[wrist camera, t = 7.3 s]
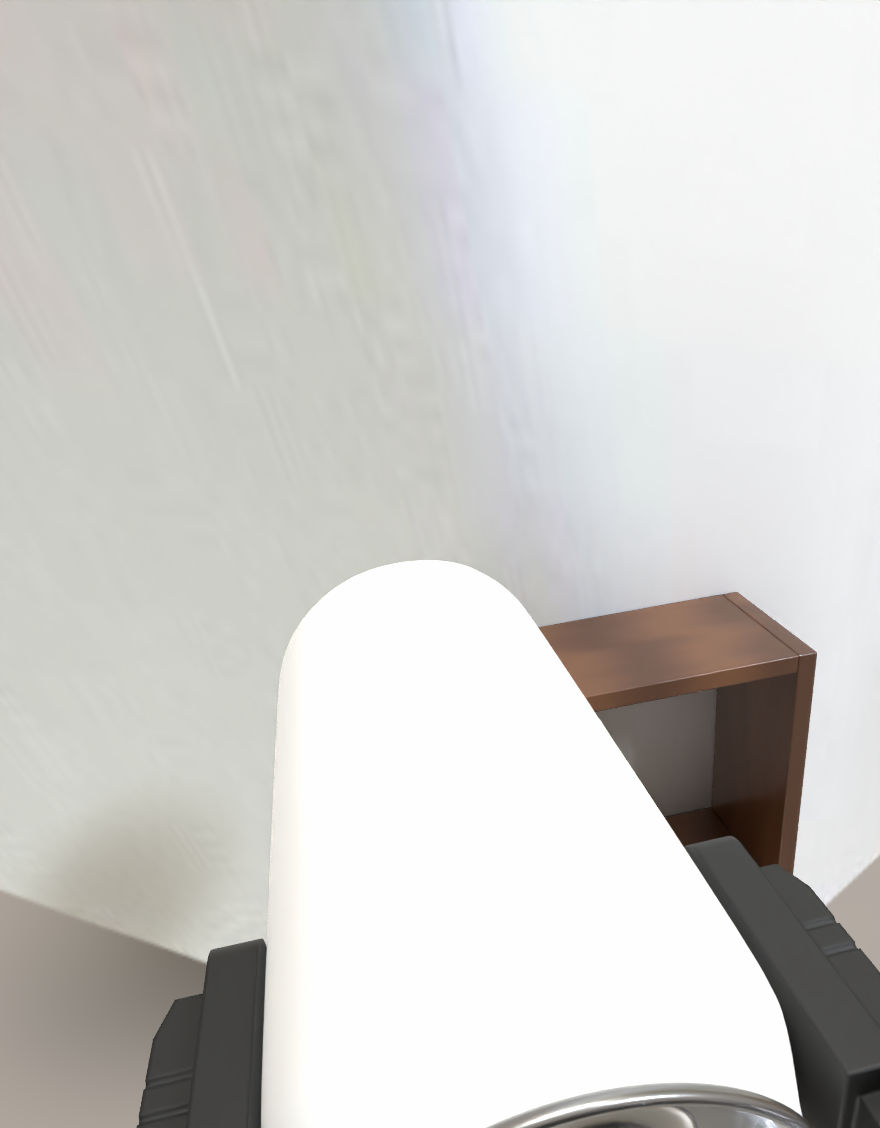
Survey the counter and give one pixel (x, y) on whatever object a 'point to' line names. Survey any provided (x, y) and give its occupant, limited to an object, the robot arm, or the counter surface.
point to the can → (487, 892)
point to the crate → (744, 704)
